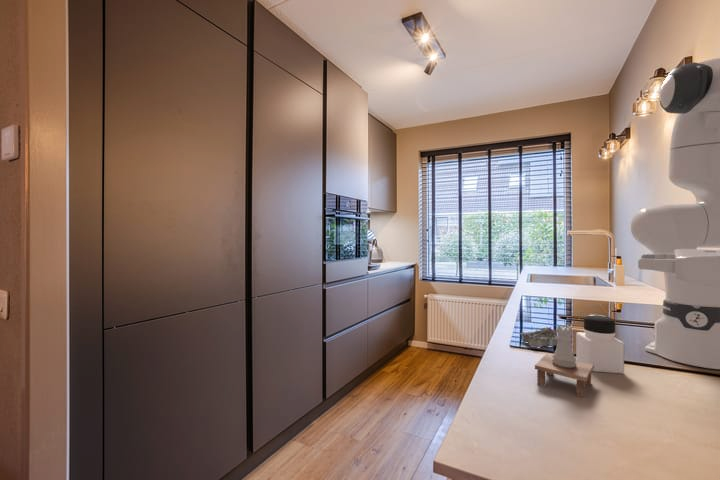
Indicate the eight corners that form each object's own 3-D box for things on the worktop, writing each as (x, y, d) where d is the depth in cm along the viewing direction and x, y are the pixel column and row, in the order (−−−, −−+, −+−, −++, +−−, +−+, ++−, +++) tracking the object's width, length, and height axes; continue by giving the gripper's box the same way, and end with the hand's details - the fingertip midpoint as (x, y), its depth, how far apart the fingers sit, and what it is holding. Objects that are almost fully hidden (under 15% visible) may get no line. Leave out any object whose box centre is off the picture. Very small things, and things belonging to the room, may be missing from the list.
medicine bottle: (624, 374, 75) (625, 321, 75) (589, 371, 76) (589, 319, 76) (607, 362, 82) (608, 313, 82) (575, 360, 83) (576, 312, 83)
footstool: (546, 371, 76) (546, 354, 76) (593, 383, 70) (593, 364, 70) (534, 384, 70) (534, 365, 70) (586, 398, 64) (586, 377, 64)
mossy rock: (551, 340, 100) (552, 326, 100) (569, 348, 93) (569, 334, 93) (517, 340, 99) (517, 327, 99) (532, 349, 92) (532, 334, 92)
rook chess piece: (582, 367, 68) (582, 328, 68) (564, 369, 67) (564, 330, 67) (563, 359, 73) (564, 323, 73) (546, 361, 72) (547, 324, 71)
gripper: (744, 242, 60) (643, 241, 69) (770, 250, 45) (636, 247, 54) (743, 277, 60) (642, 271, 69) (768, 297, 45) (635, 285, 54)
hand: (639, 260), depth 62 cm, fingers open, 8 cm apart
